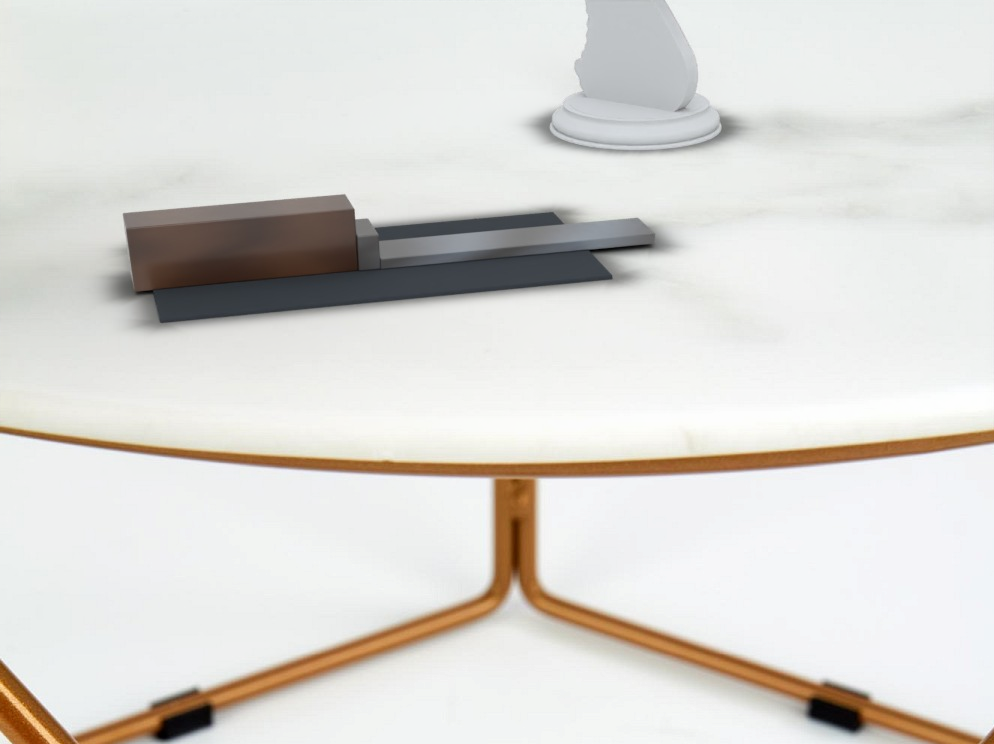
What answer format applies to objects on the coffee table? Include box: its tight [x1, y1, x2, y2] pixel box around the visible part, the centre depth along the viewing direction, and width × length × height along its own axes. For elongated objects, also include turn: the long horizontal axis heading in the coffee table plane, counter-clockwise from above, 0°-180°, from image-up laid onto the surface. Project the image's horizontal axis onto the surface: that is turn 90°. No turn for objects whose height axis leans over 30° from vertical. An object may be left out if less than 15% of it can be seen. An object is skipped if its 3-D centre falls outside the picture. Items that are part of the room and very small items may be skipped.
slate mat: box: [152, 211, 613, 324], centre depth 79 cm, size 20×10×1 cm, turn 104°
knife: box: [122, 193, 656, 292], centre depth 78 cm, size 24×3×3 cm, turn 104°
